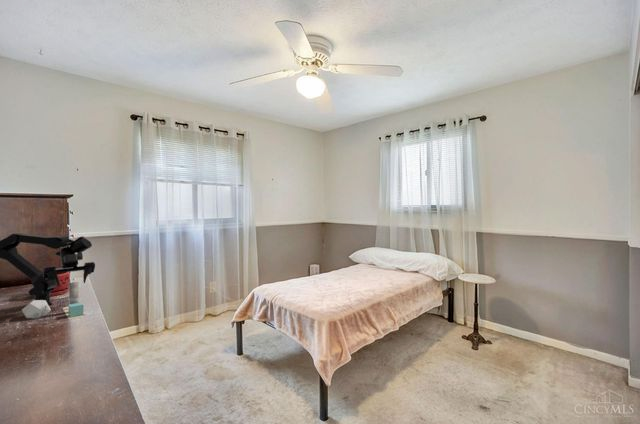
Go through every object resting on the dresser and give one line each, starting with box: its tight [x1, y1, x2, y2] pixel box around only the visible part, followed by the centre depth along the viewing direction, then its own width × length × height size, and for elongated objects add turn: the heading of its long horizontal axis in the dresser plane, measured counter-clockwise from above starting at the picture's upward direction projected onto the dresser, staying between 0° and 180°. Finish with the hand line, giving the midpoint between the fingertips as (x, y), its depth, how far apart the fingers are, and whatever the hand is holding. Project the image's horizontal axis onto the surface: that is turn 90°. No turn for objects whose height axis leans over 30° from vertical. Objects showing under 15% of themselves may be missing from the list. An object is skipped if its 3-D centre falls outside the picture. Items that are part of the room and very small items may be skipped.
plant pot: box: [50, 272, 71, 297], centre depth 163 cm, size 13×13×12 cm
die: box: [21, 299, 52, 319], centre depth 127 cm, size 8×9×10 cm
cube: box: [68, 302, 85, 317], centre depth 128 cm, size 4×4×4 cm
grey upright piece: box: [62, 281, 87, 320], centre depth 132 cm, size 20×6×14 cm, turn 47°
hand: (72, 284), depth 137 cm, fingers open, 9 cm apart
